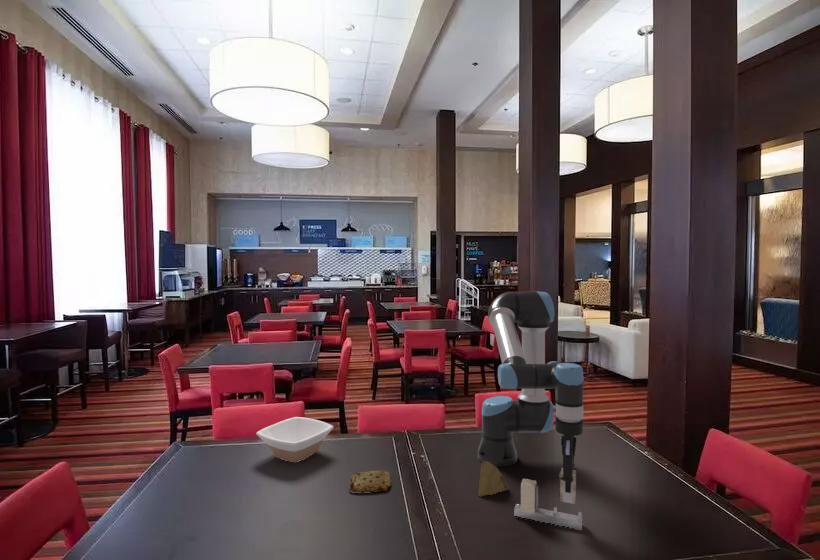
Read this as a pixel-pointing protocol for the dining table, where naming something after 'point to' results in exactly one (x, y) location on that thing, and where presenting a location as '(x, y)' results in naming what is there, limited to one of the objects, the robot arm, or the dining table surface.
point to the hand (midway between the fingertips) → (568, 497)
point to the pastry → (370, 481)
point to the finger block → (562, 485)
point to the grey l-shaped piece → (532, 512)
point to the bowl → (295, 437)
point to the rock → (491, 480)
